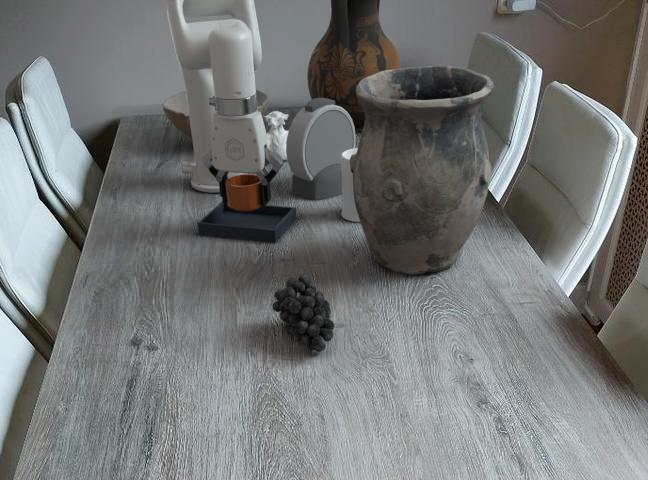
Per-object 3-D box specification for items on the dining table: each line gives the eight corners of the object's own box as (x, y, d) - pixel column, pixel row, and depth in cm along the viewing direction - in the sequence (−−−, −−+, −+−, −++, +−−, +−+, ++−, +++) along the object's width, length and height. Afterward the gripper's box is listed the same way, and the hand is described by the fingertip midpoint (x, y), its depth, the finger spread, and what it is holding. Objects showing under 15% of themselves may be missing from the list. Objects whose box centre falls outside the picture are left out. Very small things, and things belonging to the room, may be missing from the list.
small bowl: (222, 211, 155) (219, 185, 152) (236, 198, 160) (234, 172, 157) (257, 213, 153) (254, 187, 150) (270, 200, 158) (268, 175, 155)
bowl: (291, 133, 207) (288, 91, 201) (228, 163, 191) (223, 118, 184) (213, 120, 219) (208, 81, 212) (147, 147, 202) (140, 105, 195)
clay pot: (329, 256, 147) (323, 79, 128) (422, 224, 157) (430, 56, 138) (408, 298, 133) (415, 107, 114) (505, 261, 143) (526, 79, 124)
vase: (403, 136, 203) (407, -26, 180) (307, 138, 203) (300, -22, 181) (398, 109, 221) (401, -40, 199) (310, 112, 222) (304, -36, 200)
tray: (198, 234, 157) (197, 223, 155) (223, 212, 166) (222, 200, 164) (275, 242, 153) (274, 230, 151) (296, 219, 162) (295, 207, 160)
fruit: (333, 304, 113) (308, 259, 124) (280, 329, 113) (260, 282, 124) (352, 351, 118) (327, 304, 129) (301, 375, 119) (281, 326, 130)
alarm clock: (333, 174, 182) (330, 87, 170) (365, 184, 176) (364, 95, 165) (280, 193, 174) (273, 103, 162) (312, 204, 168) (308, 112, 156)
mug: (396, 204, 166) (397, 145, 158) (401, 220, 160) (403, 158, 152) (339, 207, 166) (338, 148, 158) (343, 223, 159) (341, 162, 152)
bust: (304, 164, 194) (298, 118, 194) (306, 152, 187) (300, 104, 186) (255, 169, 193) (249, 122, 193) (256, 157, 186) (249, 108, 185)
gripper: (184, 108, 144) (197, 205, 155) (273, 113, 140) (281, 212, 151) (201, 98, 150) (213, 192, 161) (288, 102, 145) (294, 199, 157)
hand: (246, 201), depth 156 cm, fingers closed on small bowl, 7 cm apart
